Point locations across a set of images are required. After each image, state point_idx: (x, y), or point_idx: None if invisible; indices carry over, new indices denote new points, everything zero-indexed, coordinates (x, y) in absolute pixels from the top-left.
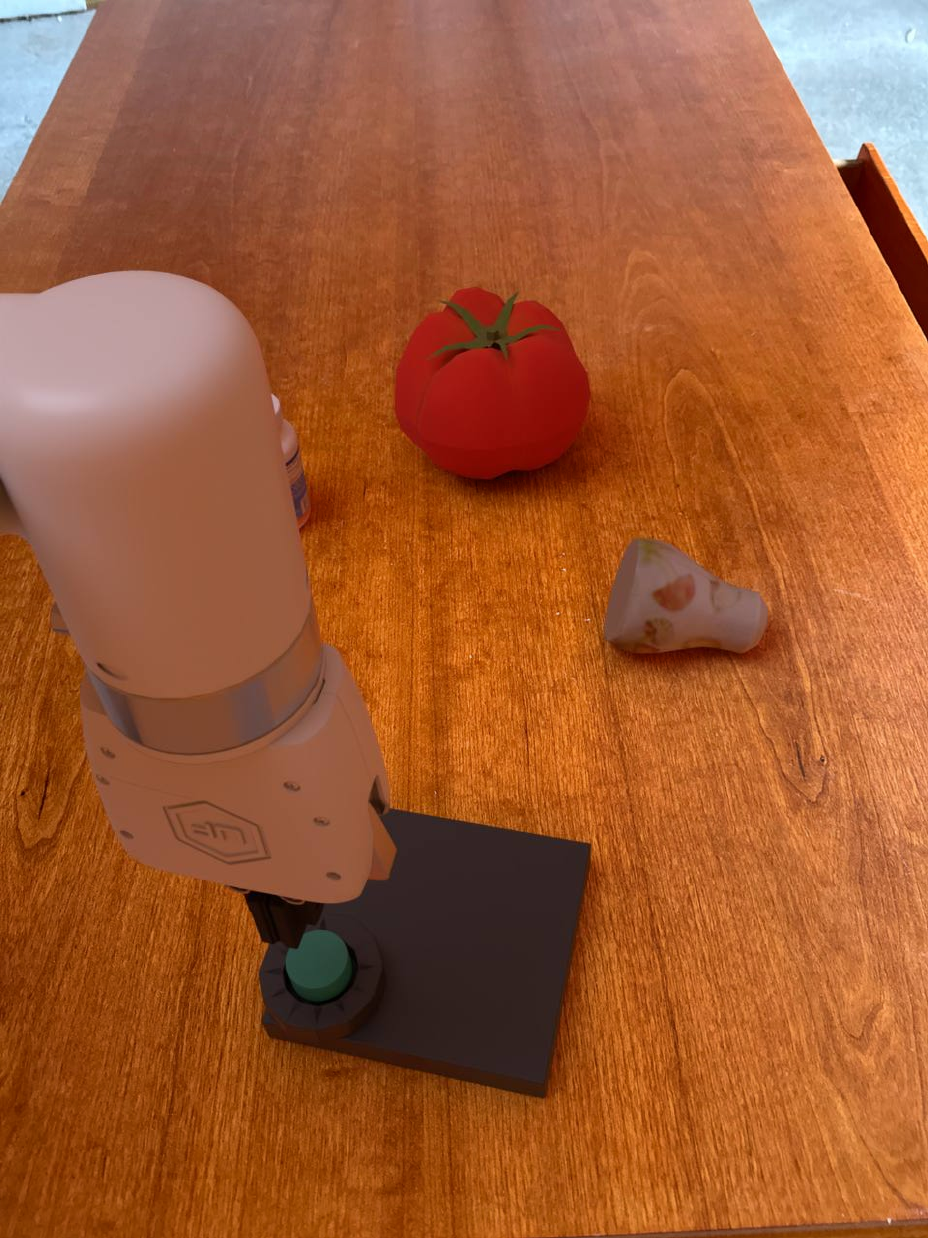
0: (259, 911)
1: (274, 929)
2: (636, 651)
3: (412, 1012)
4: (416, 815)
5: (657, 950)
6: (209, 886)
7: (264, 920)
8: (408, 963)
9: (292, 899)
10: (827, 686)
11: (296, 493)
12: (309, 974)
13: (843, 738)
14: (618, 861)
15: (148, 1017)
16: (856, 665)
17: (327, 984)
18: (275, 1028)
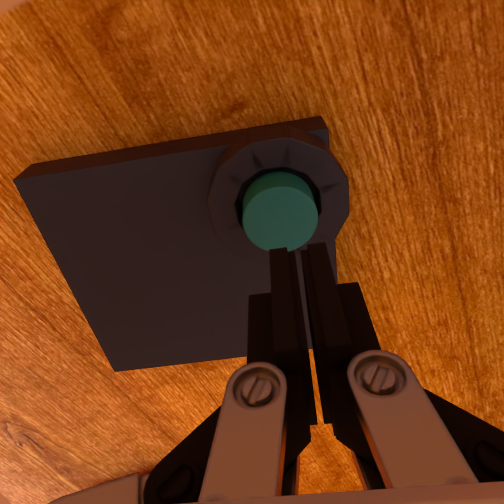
0: (325, 318)
1: (304, 275)
2: None
3: (173, 197)
4: None
5: (32, 307)
6: (444, 231)
7: (317, 295)
8: (205, 238)
9: (256, 375)
10: (48, 479)
11: None
12: (279, 202)
13: (17, 458)
14: (103, 354)
15: (467, 83)
16: (41, 492)
17: (252, 199)
18: (310, 127)
